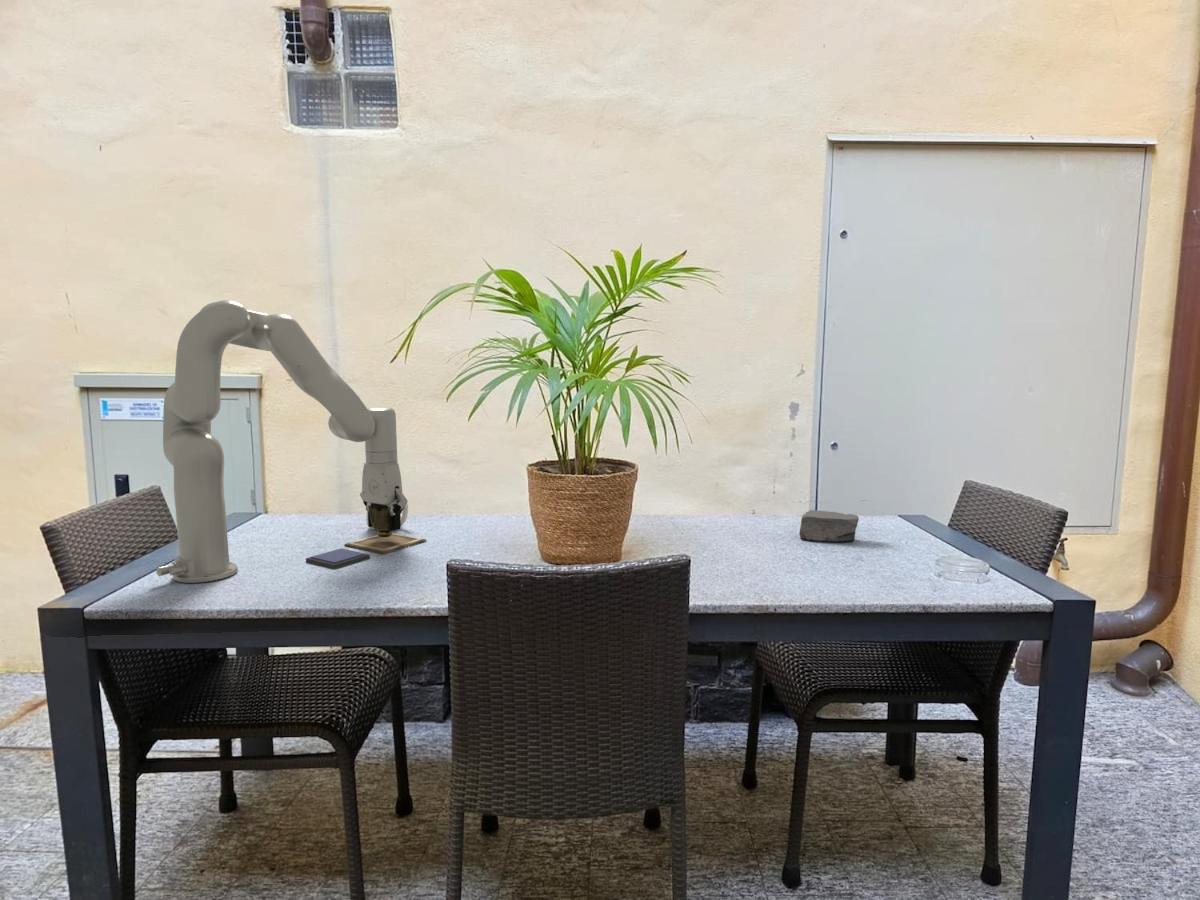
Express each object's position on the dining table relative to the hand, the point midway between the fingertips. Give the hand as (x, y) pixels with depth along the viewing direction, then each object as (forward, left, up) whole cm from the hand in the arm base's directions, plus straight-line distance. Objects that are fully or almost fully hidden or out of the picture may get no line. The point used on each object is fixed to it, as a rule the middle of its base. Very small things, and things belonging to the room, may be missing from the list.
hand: (384, 527), depth 193 cm
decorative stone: (+64, -92, -5) cm, 112 cm away
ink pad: (-16, -2, -4) cm, 16 cm away
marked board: (0, 0, -4) cm, 4 cm away
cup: (0, 0, -2) cm, 2 cm away
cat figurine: (+11, +12, -4) cm, 17 cm away
